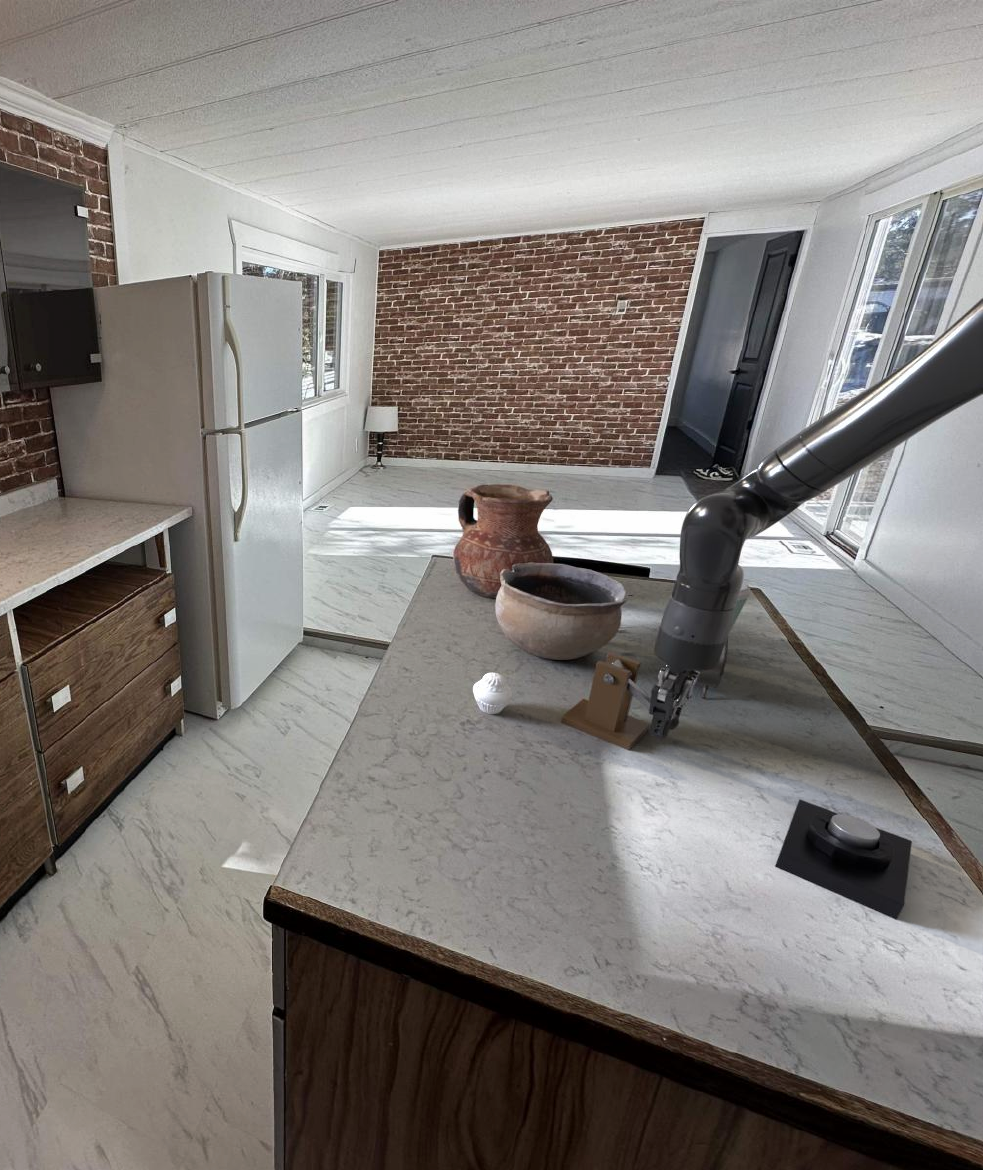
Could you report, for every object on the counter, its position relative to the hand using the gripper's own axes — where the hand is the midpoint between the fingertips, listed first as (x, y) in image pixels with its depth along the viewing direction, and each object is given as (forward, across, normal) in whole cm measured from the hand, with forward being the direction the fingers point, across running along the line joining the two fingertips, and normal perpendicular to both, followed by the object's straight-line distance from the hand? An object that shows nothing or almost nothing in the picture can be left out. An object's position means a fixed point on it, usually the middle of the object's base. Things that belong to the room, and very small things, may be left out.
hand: (662, 730), depth 94 cm
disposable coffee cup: (+3, +40, +6) cm, 41 cm away
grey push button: (-1, -9, -22) cm, 23 cm away
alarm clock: (+3, +24, +2) cm, 25 cm away
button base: (+3, -9, -22) cm, 24 cm away
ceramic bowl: (+4, +20, +25) cm, 32 cm away
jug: (+4, +41, +47) cm, 63 cm away
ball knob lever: (-3, 0, +5) cm, 5 cm away
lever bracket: (+3, 0, +7) cm, 8 cm away
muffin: (+4, -9, +22) cm, 24 cm away
